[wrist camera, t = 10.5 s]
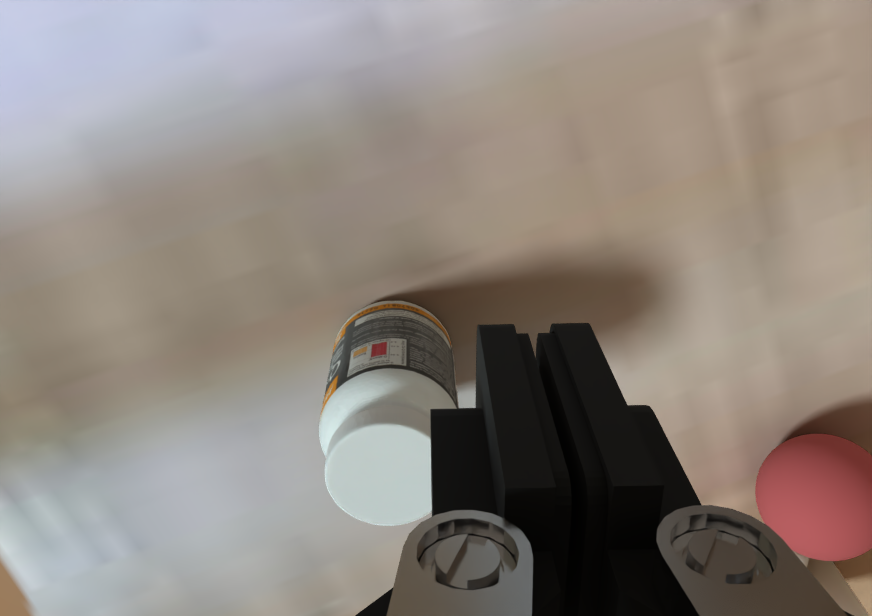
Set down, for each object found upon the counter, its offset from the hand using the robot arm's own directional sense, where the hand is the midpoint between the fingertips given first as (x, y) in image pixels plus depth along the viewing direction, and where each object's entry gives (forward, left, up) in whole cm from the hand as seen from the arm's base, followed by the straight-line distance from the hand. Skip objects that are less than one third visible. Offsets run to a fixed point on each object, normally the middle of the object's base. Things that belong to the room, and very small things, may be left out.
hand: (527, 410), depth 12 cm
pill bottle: (+11, -3, -23) cm, 26 cm away
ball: (+18, +18, -20) cm, 32 cm away
